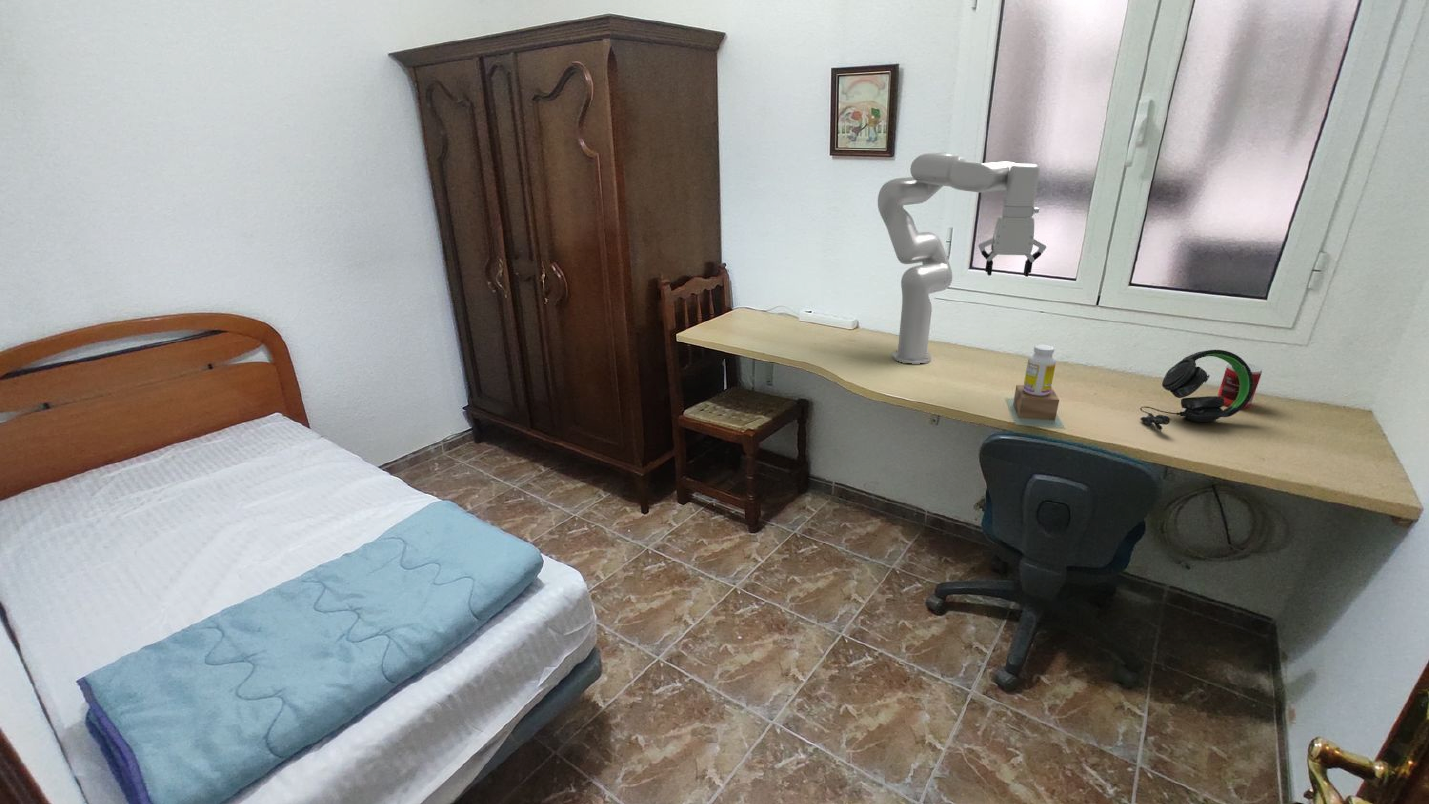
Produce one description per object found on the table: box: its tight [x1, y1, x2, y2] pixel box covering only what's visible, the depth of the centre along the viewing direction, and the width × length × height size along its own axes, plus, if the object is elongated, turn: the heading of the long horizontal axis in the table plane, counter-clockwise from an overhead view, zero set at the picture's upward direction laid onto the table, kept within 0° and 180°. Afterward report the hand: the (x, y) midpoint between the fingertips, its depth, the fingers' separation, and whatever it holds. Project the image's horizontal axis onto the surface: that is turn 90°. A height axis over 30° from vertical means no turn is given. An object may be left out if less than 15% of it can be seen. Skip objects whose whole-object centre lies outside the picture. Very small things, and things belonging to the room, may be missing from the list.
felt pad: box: [1004, 397, 1066, 429], centre depth 176 cm, size 18×12×1 cm, turn 166°
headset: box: [1139, 349, 1254, 431], centre depth 167 cm, size 18×14×29 cm
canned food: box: [1217, 362, 1263, 410], centre depth 177 cm, size 8×8×11 cm
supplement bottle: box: [1023, 344, 1057, 396], centre depth 171 cm, size 7×7×13 cm
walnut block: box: [1013, 384, 1060, 421], centre depth 175 cm, size 9×9×6 cm
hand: (1007, 275), depth 181 cm, fingers open, 9 cm apart
